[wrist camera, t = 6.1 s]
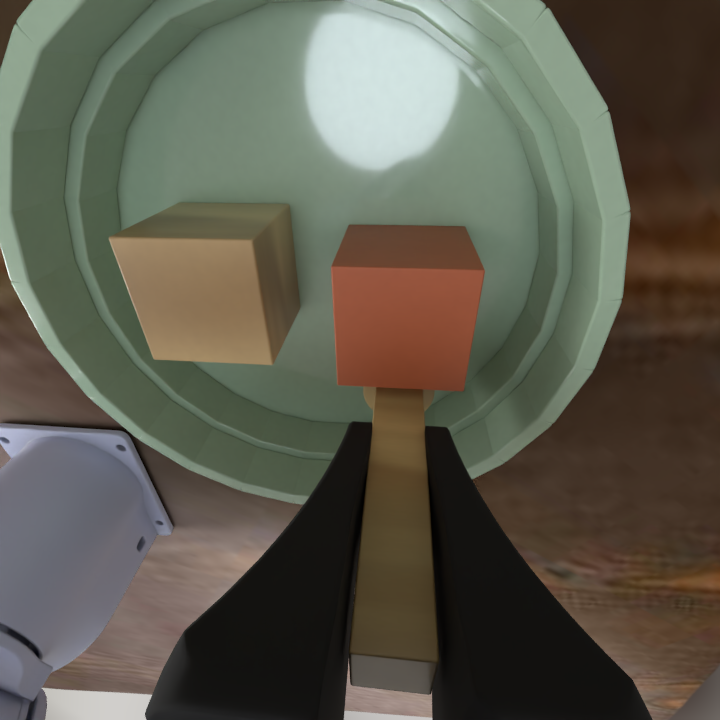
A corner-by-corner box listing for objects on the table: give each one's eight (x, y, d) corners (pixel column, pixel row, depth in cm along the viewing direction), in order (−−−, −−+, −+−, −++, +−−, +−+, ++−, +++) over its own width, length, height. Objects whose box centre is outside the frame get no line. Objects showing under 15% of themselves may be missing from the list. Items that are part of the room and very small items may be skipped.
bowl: (508, 438, 19) (533, 523, 16) (175, 418, 21) (124, 491, 17) (650, -59, 10) (809, -156, 6) (7, -32, 11) (-199, -96, 7)
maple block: (300, 308, 16) (273, 366, 12) (204, 305, 16) (152, 360, 13) (289, 203, 13) (252, 239, 10) (178, 202, 14) (107, 237, 10)
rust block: (451, 328, 16) (463, 392, 12) (351, 324, 16) (337, 385, 13) (465, 226, 13) (485, 270, 10) (348, 224, 14) (330, 266, 10)
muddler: (429, 402, 16) (454, 708, 8) (365, 398, 16) (326, 692, 8) (436, 347, 14) (474, 654, 6) (365, 344, 15) (318, 637, 7)
